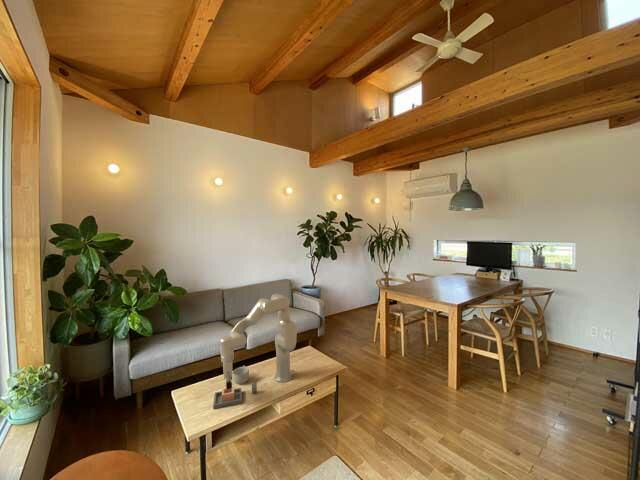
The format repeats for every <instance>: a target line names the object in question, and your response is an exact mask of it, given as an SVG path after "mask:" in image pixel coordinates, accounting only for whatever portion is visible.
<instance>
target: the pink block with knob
mask: <svg viewBox="0 0 640 480" xmlns="http://www.w3.org/2000/svg"><path fill="white" fill-rule="evenodd" d="M234 389H235V386H232V388H231V389H226V387H224V388H222V389H221V391H222V402H227V401H232V400H234Z"/></svg>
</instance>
